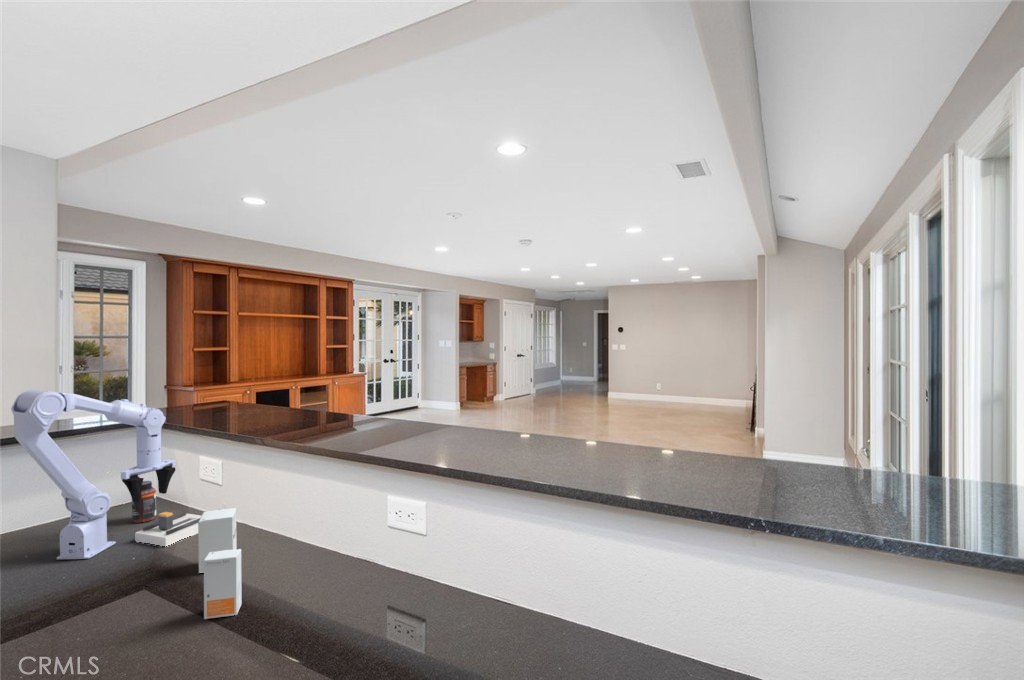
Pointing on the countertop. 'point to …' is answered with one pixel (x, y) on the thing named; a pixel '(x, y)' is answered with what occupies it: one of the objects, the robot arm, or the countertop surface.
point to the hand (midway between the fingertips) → (150, 497)
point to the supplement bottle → (145, 504)
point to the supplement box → (216, 533)
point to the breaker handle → (166, 520)
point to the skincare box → (222, 583)
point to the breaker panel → (170, 530)
